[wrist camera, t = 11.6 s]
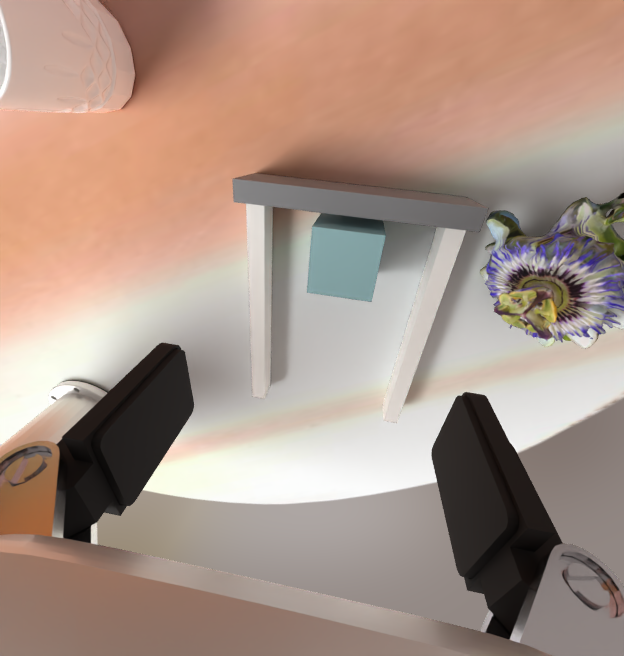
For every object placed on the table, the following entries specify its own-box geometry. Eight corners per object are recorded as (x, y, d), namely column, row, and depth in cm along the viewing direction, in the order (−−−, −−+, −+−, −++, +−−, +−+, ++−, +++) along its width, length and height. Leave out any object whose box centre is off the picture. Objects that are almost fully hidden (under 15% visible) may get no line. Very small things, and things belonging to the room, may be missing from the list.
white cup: (163, 96, 23) (43, 67, 14) (91, 137, 25) (-48, 133, 17) (95, -48, 19) (-118, -199, 11) (19, 16, 21) (-204, -67, 13)
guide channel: (395, 406, 36) (398, 441, 31) (258, 382, 37) (245, 412, 33) (466, 196, 23) (488, 208, 19) (255, 173, 24) (232, 178, 20)
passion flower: (473, 251, 30) (444, 230, 21) (614, 179, 24) (666, 101, 14) (524, 354, 28) (518, 384, 19) (692, 307, 22) (812, 317, 12)
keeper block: (370, 273, 27) (371, 301, 22) (317, 266, 28) (306, 292, 23) (381, 217, 25) (385, 235, 20) (323, 210, 25) (312, 226, 20)
